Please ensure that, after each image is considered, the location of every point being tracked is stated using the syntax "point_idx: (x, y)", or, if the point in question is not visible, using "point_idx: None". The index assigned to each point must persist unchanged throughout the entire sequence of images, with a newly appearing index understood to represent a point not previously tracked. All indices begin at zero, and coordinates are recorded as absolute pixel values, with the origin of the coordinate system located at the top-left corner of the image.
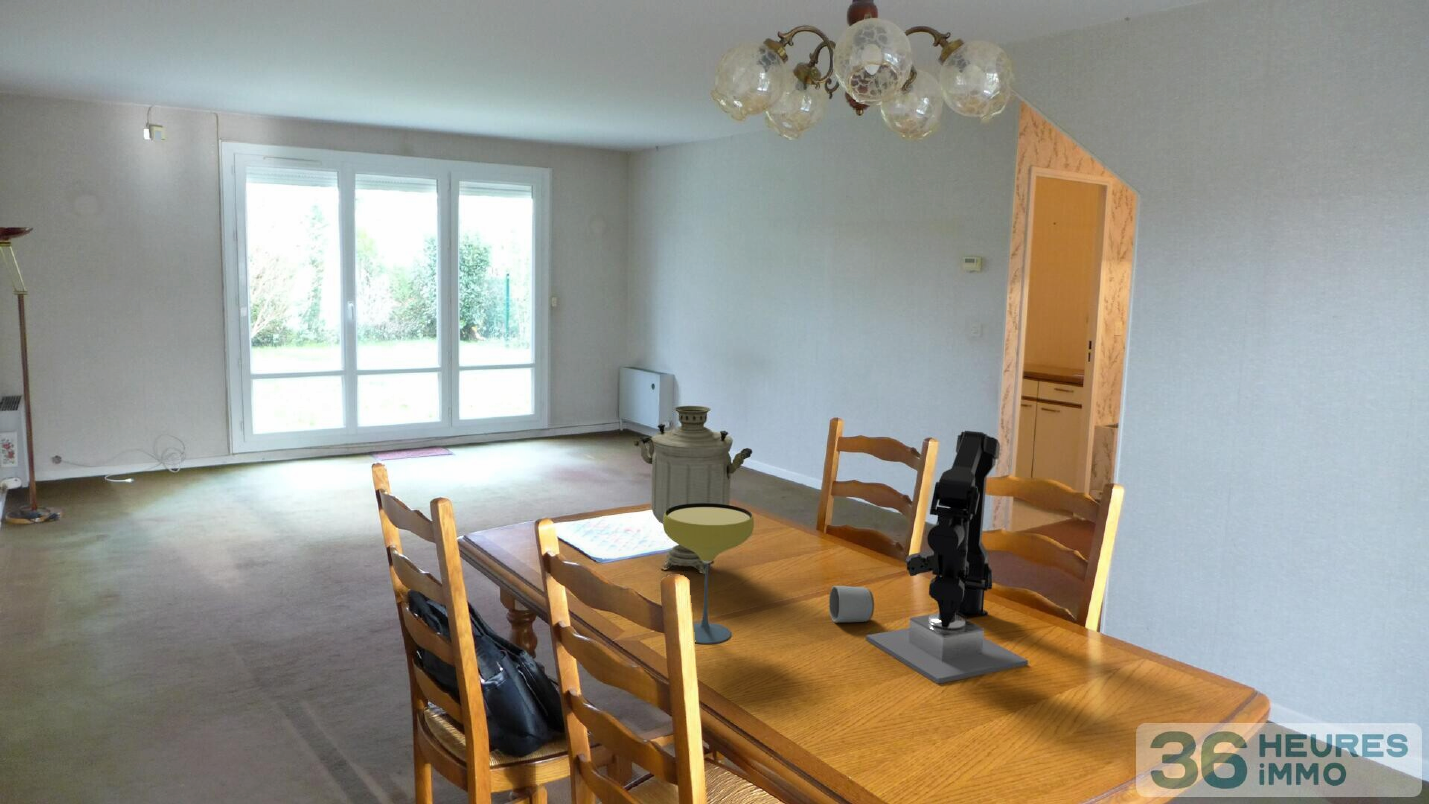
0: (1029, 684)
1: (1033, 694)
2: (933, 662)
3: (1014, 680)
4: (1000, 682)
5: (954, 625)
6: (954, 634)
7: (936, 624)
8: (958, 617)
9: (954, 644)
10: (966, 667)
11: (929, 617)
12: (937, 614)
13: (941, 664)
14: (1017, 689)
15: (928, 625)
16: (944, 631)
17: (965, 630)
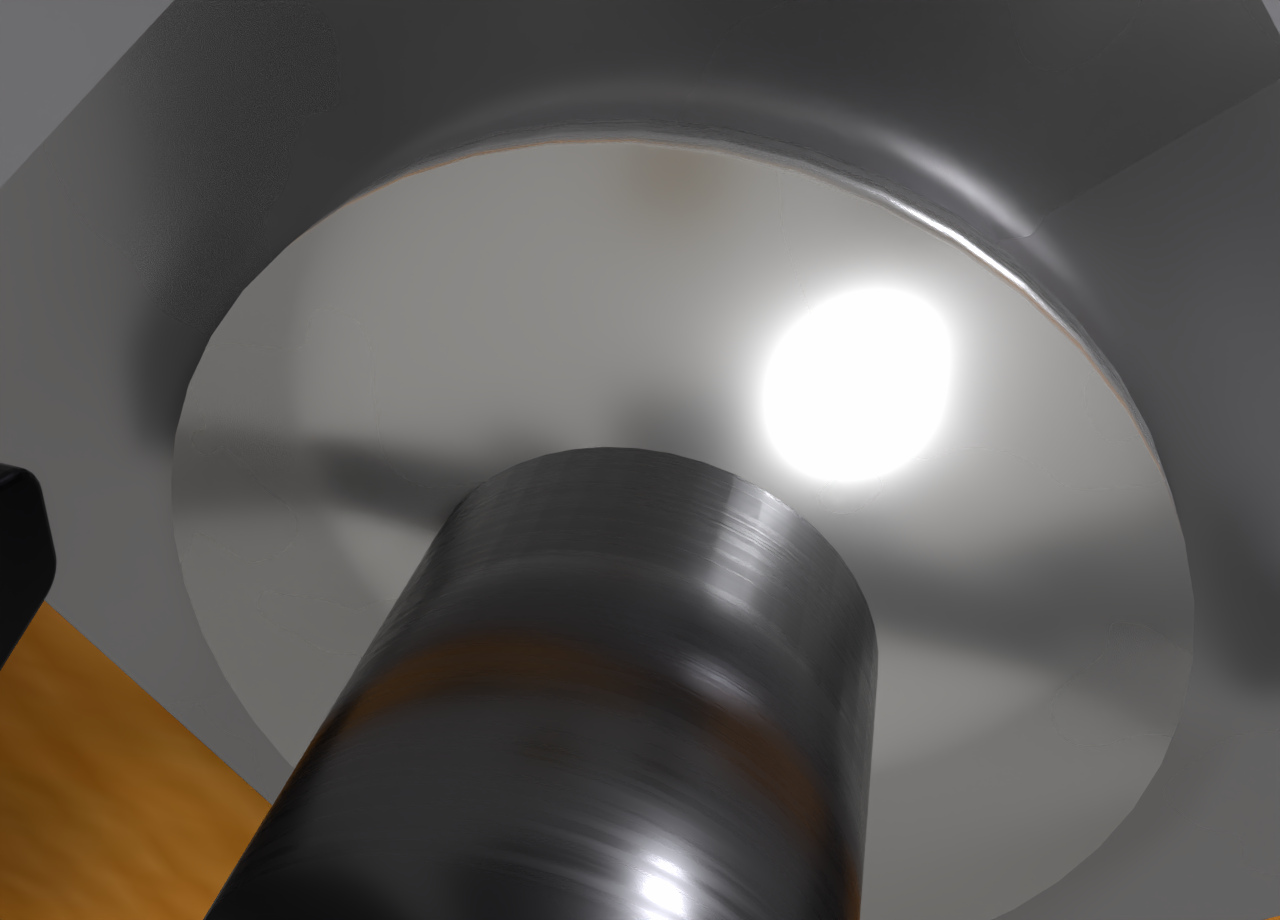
0: (194, 907)
1: (11, 876)
2: (24, 38)
3: (215, 830)
4: (100, 715)
5: (309, 723)
6: (78, 608)
7: (222, 332)
8: (888, 908)
9: None
10: None
11: (679, 182)
12: (1050, 476)
13: (20, 164)
14: (33, 801)
15: (284, 85)
16: (82, 449)
17: None
